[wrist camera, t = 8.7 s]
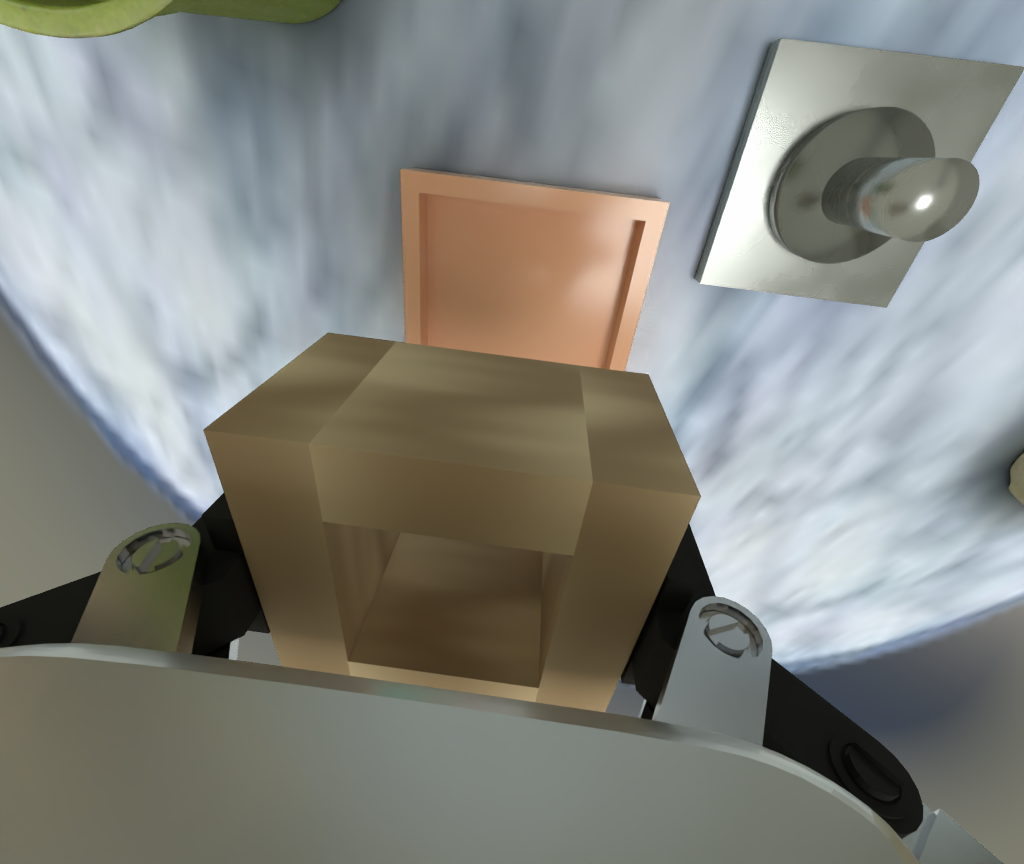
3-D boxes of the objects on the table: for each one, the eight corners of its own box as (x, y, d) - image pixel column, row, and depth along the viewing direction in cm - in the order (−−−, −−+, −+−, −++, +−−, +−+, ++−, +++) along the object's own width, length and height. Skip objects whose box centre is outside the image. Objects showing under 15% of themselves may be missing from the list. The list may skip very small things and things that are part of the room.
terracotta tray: (660, 198, 20) (669, 202, 18) (605, 412, 27) (608, 431, 25) (413, 167, 20) (400, 169, 19) (417, 387, 27) (407, 403, 25)
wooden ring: (647, 374, 9) (700, 496, 6) (585, 584, 13) (596, 732, 10) (328, 332, 9) (203, 429, 6) (356, 553, 13) (289, 688, 10)
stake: (1002, 71, 17) (1213, 32, 11) (873, 301, 22) (979, 351, 16) (770, 44, 17) (870, -8, 12) (694, 278, 22) (739, 320, 17)
